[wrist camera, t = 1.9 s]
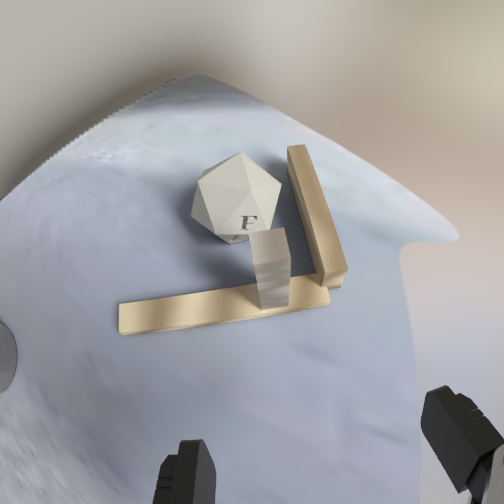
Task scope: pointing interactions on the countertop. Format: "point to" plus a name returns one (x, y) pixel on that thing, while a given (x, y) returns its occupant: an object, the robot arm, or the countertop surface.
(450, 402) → the robot arm
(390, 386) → the countertop surface
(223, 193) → the die
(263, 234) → the l-shaped corner bracket
